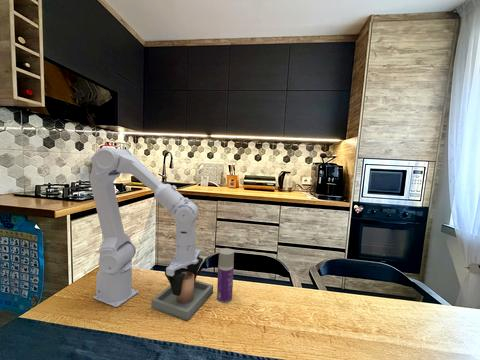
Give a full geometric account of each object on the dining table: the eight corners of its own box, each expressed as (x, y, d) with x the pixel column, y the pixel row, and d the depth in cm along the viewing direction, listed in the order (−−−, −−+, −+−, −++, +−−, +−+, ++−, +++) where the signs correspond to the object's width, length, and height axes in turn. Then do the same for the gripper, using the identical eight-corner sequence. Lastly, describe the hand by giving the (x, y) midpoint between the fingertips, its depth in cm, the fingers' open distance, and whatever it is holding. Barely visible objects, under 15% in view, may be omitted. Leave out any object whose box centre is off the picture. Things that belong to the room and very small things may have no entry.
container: (229, 304, 66) (232, 255, 65) (214, 301, 67) (216, 253, 66) (233, 294, 71) (235, 249, 69) (219, 292, 72) (221, 247, 70)
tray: (151, 308, 63) (151, 299, 63) (181, 283, 76) (181, 276, 76) (187, 321, 59) (187, 312, 58) (213, 292, 72) (213, 285, 71)
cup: (186, 305, 64) (186, 282, 63) (172, 300, 66) (173, 277, 65) (197, 296, 68) (197, 274, 67) (184, 291, 70) (184, 270, 70)
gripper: (182, 255, 57) (181, 305, 59) (209, 238, 71) (208, 278, 72) (160, 250, 60) (159, 298, 61) (190, 234, 73) (189, 273, 75)
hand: (184, 287), depth 67 cm, fingers open, 7 cm apart
